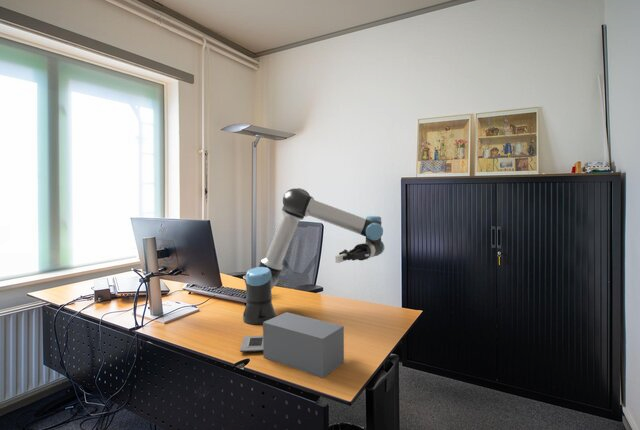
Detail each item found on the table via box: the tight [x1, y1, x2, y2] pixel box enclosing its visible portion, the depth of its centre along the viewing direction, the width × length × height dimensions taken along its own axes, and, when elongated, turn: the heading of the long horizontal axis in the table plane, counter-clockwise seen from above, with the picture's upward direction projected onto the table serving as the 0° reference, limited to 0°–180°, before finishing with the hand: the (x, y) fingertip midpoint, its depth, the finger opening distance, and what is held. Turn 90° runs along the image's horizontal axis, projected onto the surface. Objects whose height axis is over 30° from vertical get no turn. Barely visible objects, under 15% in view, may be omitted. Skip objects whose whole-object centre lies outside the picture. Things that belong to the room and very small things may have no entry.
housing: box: [262, 311, 345, 379], centre depth 127 cm, size 13×26×13 cm, turn 55°
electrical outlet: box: [239, 334, 264, 353], centre depth 139 cm, size 13×10×2 cm
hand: (337, 259), depth 146 cm, fingers closed
